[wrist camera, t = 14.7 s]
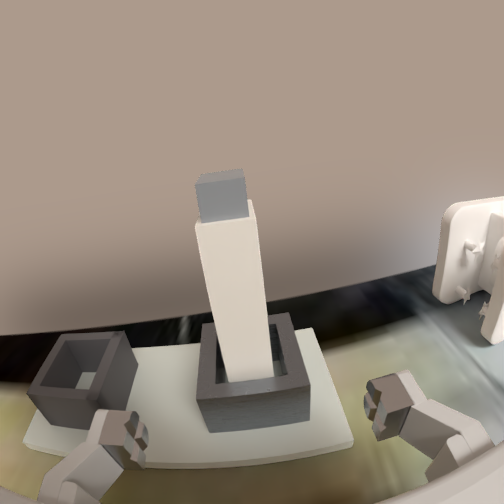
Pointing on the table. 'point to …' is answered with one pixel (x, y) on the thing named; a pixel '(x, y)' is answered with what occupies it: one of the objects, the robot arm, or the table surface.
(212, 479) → the table surface
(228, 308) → the plug
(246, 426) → the box
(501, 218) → the cable organizer
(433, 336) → the table surface
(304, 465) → the table surface
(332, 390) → the panel
